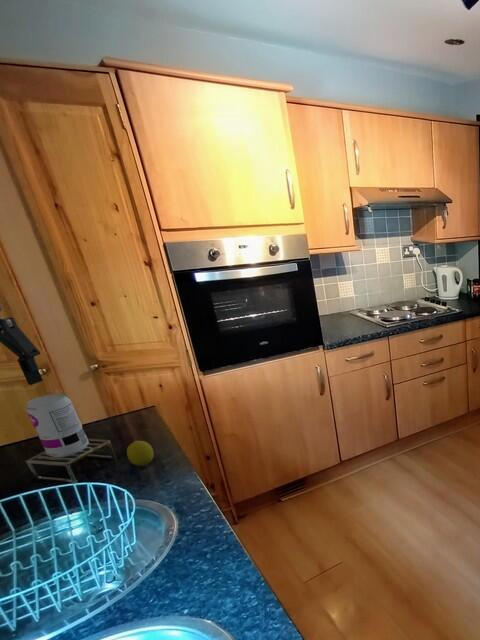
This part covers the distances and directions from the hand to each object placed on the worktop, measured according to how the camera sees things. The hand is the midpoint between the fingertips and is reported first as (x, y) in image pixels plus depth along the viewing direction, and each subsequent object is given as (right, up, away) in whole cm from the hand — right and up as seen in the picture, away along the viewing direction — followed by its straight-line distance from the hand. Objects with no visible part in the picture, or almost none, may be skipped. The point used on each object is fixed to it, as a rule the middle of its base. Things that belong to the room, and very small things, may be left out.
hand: (11, 381), depth 113 cm
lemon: (+23, -24, +13) cm, 36 cm away
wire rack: (+8, -25, +10) cm, 28 cm away
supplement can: (+8, -19, +7) cm, 21 cm away
